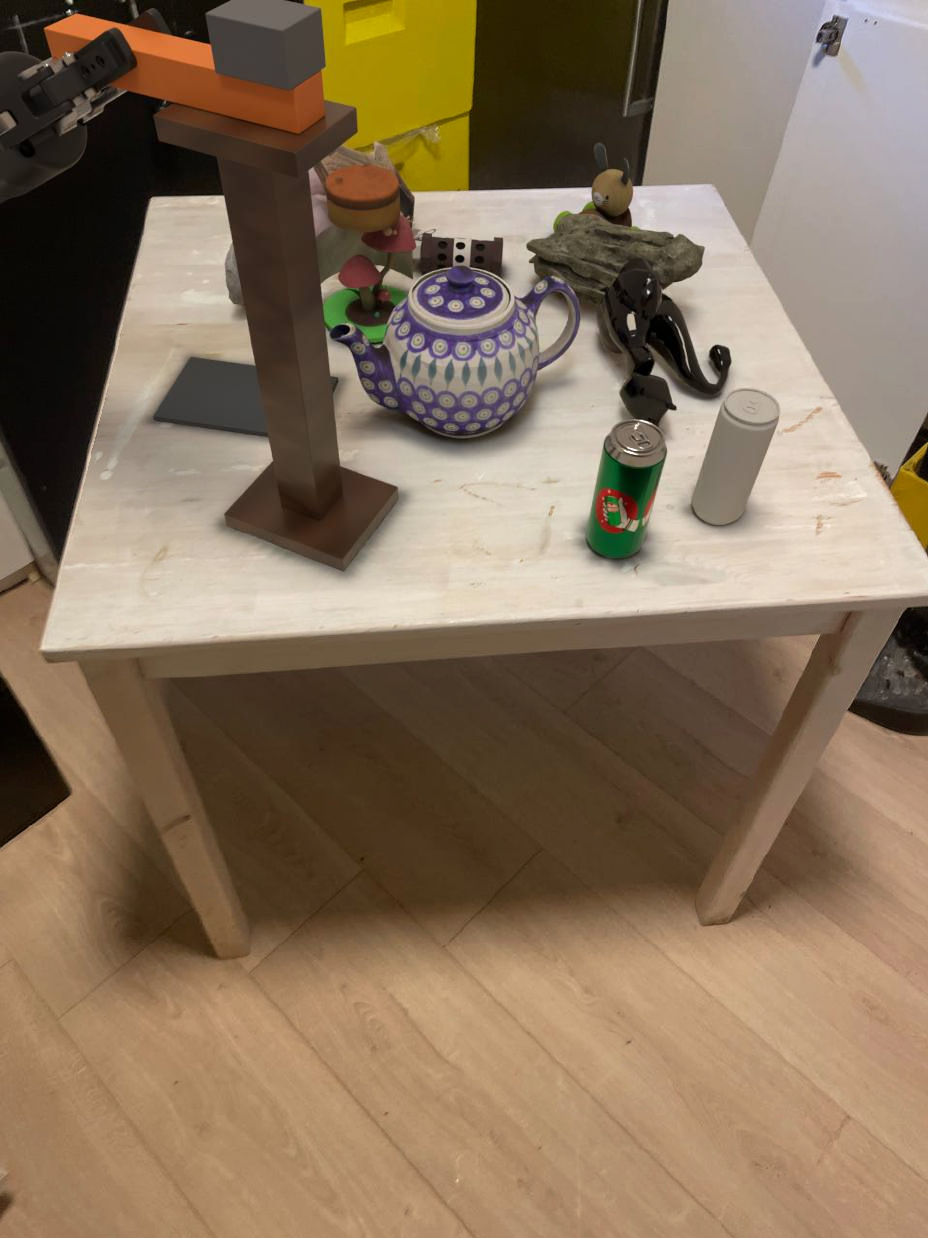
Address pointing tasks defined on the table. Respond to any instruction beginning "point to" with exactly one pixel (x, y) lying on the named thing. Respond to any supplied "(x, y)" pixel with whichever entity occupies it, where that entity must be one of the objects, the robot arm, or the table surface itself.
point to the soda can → (626, 488)
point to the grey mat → (217, 397)
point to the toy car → (609, 193)
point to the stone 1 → (233, 278)
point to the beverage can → (735, 454)
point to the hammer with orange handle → (224, 61)
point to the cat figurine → (652, 342)
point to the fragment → (376, 158)
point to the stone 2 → (609, 254)
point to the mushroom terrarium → (364, 247)
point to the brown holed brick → (458, 253)
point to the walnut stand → (286, 330)
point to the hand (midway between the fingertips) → (143, 36)
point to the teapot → (459, 350)
